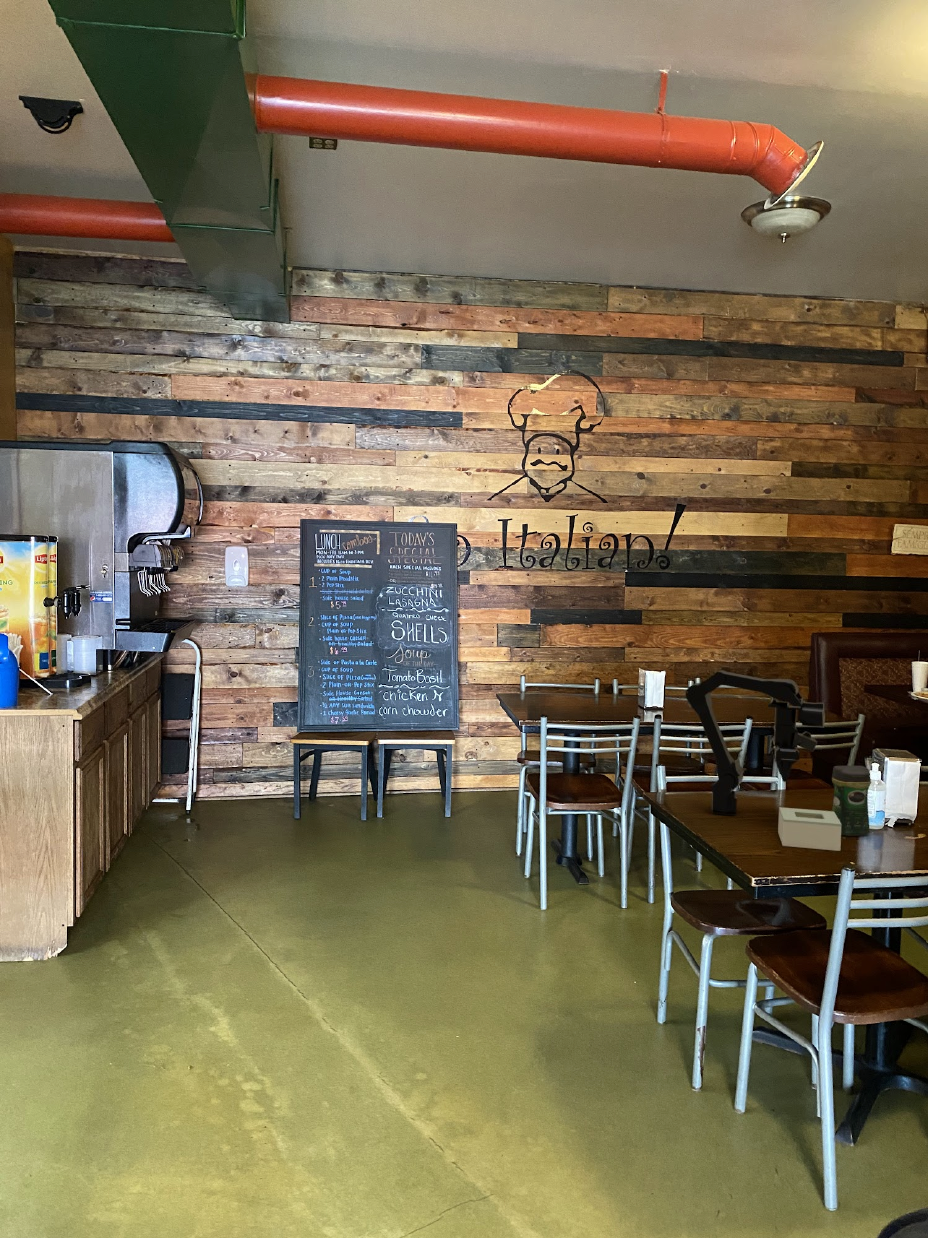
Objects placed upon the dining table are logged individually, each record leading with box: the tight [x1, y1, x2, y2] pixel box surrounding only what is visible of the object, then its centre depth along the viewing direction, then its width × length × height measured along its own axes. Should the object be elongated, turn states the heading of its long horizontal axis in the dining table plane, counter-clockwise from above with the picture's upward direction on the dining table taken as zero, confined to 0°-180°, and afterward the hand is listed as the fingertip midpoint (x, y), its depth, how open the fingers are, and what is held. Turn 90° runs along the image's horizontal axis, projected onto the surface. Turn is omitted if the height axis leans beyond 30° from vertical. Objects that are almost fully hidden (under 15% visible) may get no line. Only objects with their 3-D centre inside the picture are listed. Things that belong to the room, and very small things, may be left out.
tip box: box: [777, 806, 842, 852], centre depth 232 cm, size 14×12×7 cm
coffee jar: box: [831, 765, 872, 837], centre depth 240 cm, size 10×8×19 cm
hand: (783, 778), depth 250 cm, fingers open, 9 cm apart
